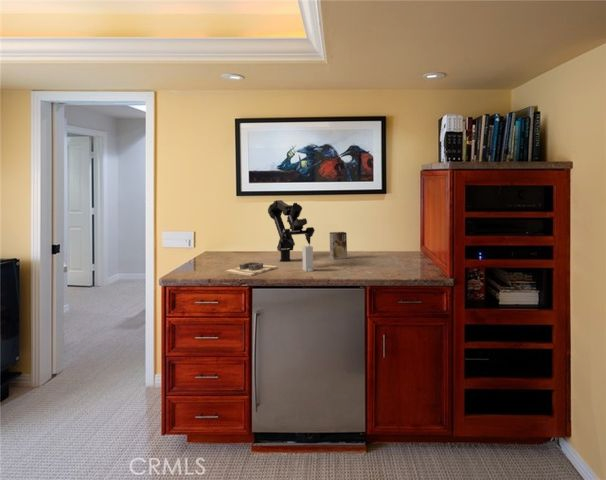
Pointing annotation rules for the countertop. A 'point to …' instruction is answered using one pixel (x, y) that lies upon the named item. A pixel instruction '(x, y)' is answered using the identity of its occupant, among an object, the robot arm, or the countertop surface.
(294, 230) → the robot arm
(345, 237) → the coffee box
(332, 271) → the countertop surface
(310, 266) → the block
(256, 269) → the board
